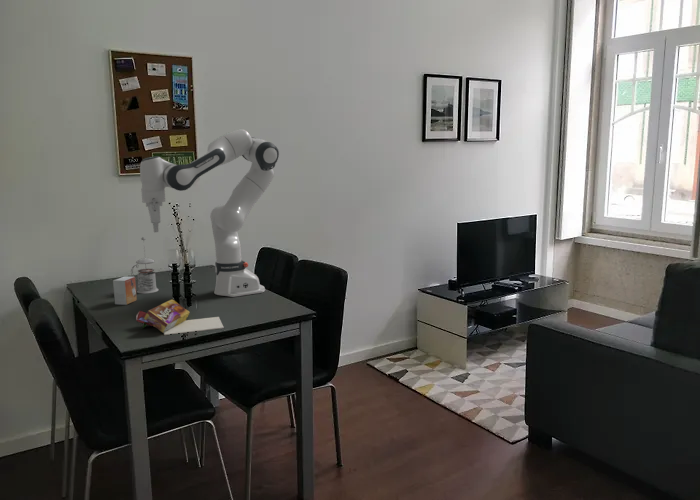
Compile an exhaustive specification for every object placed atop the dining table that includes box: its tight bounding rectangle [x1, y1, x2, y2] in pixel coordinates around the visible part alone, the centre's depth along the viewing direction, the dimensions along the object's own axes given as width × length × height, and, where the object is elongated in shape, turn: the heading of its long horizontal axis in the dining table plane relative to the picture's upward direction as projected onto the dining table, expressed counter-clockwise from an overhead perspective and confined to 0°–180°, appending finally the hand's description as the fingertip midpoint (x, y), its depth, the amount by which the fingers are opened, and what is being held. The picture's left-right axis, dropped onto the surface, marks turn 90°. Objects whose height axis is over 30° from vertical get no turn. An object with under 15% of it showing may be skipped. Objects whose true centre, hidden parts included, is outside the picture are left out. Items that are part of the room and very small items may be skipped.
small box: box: [112, 276, 138, 306], centre depth 242 cm, size 8×6×10 cm
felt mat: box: [163, 316, 225, 336], centre depth 209 cm, size 20×14×1 cm
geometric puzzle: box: [135, 308, 155, 330], centre depth 208 cm, size 7×7×8 cm
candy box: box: [144, 298, 191, 333], centre depth 208 cm, size 9×4×15 cm
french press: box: [130, 236, 159, 294], centre depth 260 cm, size 10×12×25 cm
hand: (156, 231), depth 231 cm, fingers closed
